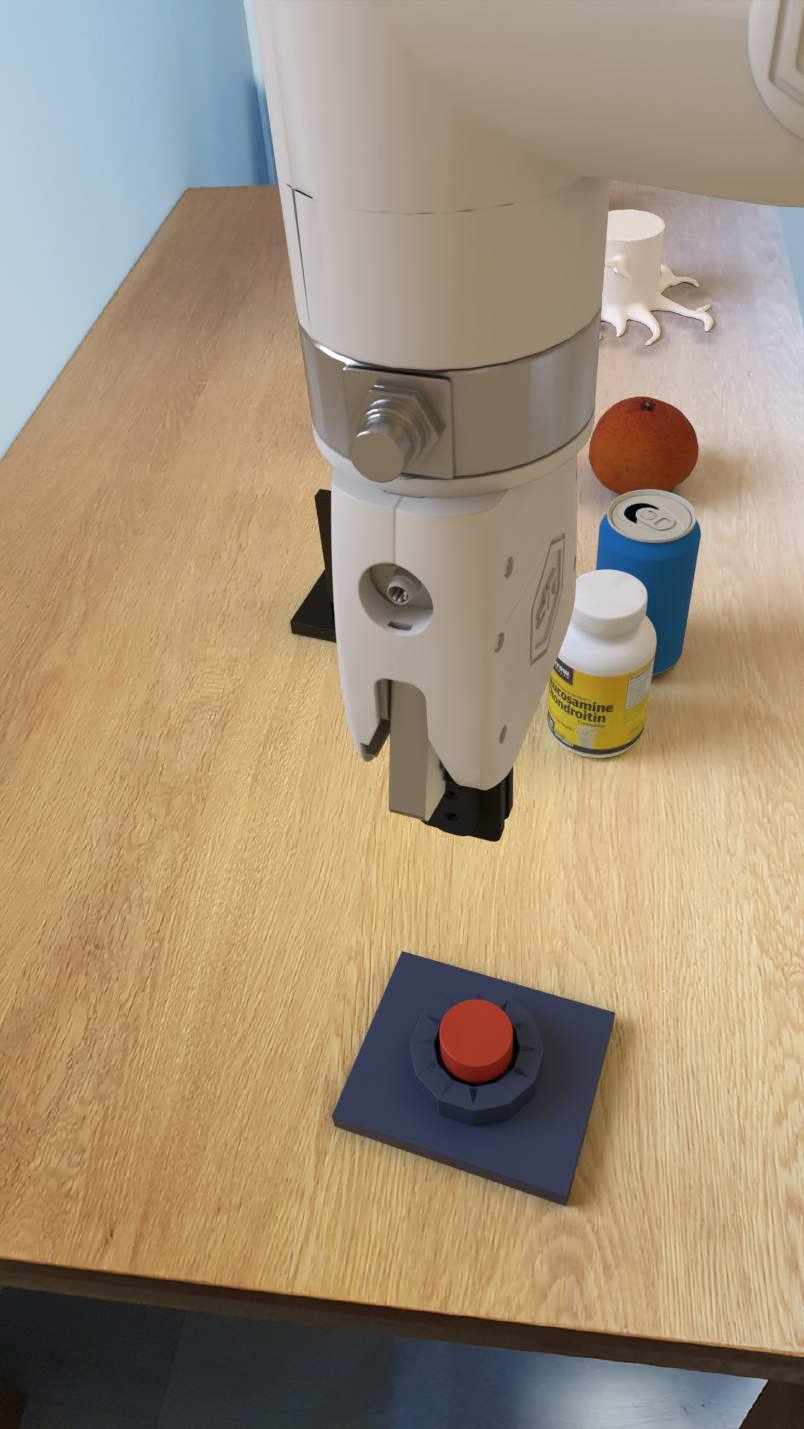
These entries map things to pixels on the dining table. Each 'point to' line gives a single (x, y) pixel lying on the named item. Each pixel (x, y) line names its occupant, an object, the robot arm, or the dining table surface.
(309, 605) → the switch bracket
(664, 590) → the beverage can
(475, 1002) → the button
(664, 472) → the fruit
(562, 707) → the pill bottle
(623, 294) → the tree stump
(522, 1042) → the button block
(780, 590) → the dining table surface
